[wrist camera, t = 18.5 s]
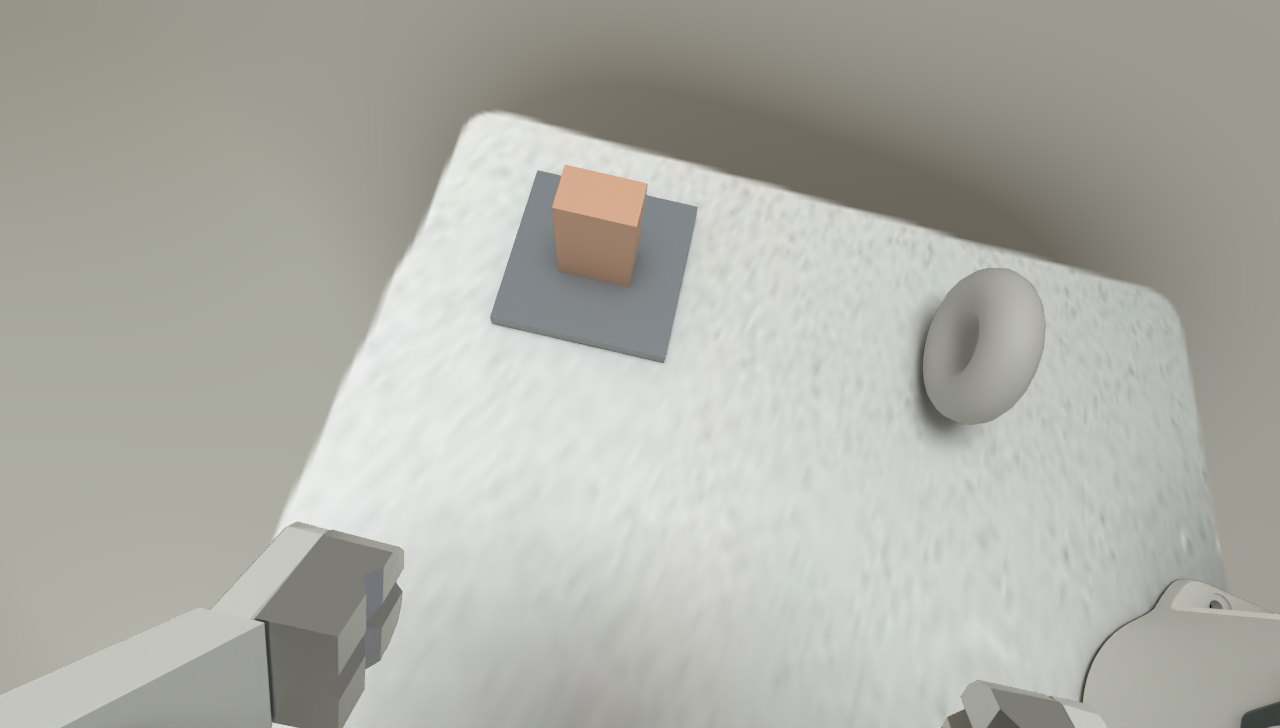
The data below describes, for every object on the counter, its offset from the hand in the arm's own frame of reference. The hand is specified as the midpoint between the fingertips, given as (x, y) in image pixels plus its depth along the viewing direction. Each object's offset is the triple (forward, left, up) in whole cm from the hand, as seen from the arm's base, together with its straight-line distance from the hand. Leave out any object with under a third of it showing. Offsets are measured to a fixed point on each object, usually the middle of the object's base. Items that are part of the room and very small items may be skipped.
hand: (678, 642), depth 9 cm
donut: (-19, -19, -32) cm, 42 cm away
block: (+6, -21, -30) cm, 38 cm away
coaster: (+6, -21, -31) cm, 38 cm away
